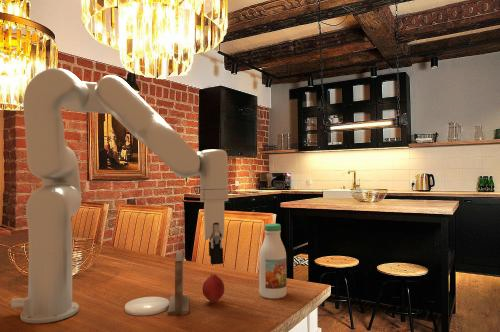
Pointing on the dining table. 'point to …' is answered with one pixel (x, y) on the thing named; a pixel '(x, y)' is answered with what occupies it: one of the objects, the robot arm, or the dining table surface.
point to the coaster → (147, 306)
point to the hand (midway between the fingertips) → (215, 259)
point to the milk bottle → (272, 264)
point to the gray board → (179, 290)
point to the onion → (213, 288)
